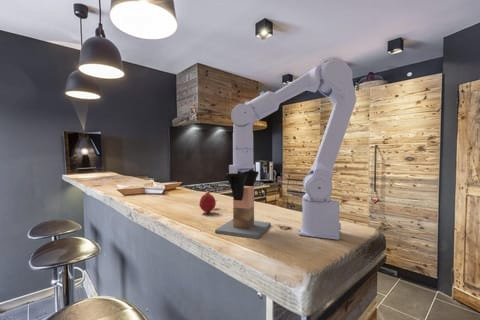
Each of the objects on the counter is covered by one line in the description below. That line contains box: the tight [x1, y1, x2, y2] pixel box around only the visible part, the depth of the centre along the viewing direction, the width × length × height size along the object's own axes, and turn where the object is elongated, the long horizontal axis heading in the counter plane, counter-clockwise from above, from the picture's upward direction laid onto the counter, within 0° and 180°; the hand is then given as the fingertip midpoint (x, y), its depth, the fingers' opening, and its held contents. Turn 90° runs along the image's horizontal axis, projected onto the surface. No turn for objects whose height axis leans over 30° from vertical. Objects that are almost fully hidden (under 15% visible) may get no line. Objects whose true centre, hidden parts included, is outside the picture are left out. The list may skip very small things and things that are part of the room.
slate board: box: [214, 218, 272, 240], centre depth 63 cm, size 12×12×1 cm
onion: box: [199, 190, 217, 214], centre depth 82 cm, size 6×6×8 cm
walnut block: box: [232, 205, 255, 229], centre depth 63 cm, size 4×4×6 cm
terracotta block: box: [232, 185, 255, 209], centre depth 63 cm, size 4×4×6 cm
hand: (243, 197), depth 63 cm, fingers open, 7 cm apart
